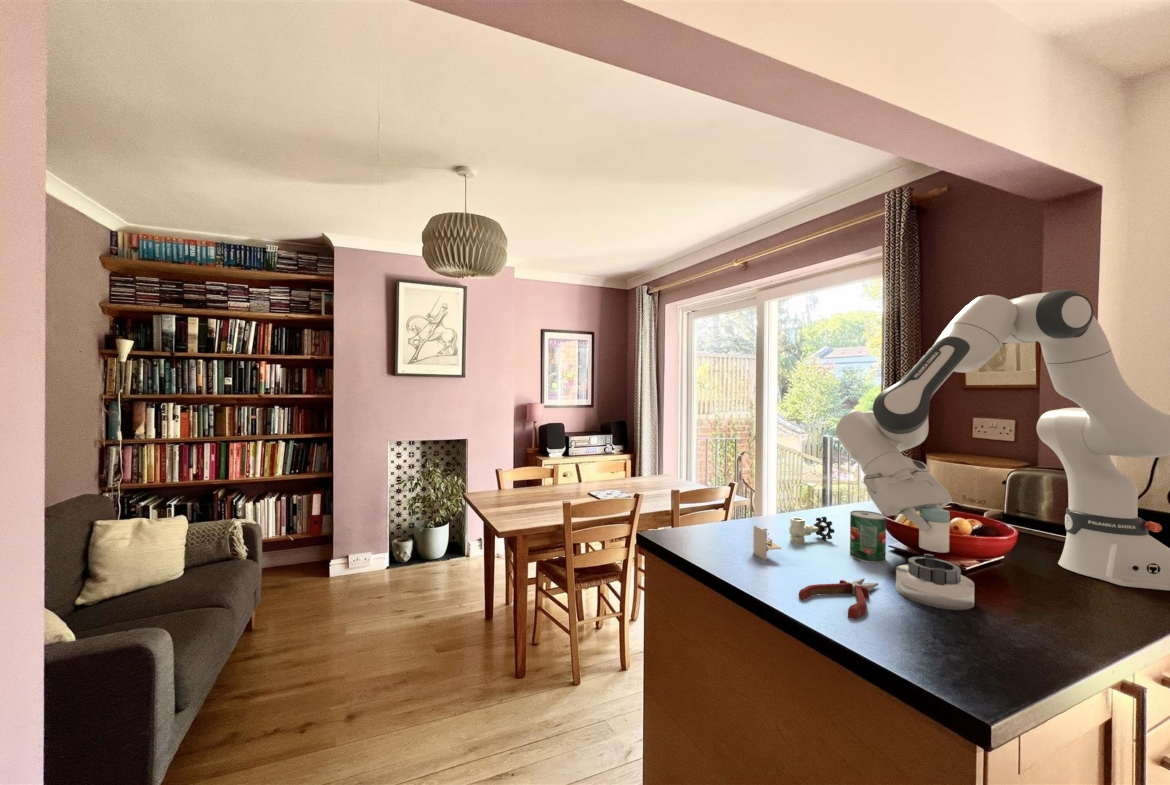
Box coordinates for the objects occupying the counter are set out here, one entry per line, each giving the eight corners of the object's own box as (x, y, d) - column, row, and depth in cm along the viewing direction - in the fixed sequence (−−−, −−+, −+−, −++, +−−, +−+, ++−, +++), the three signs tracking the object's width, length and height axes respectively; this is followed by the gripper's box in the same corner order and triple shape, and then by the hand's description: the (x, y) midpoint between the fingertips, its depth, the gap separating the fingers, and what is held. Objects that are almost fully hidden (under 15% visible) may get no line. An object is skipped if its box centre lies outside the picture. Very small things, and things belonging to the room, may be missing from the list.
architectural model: (764, 552, 122) (765, 524, 122) (781, 562, 115) (781, 532, 115) (752, 553, 121) (753, 525, 121) (768, 563, 115) (768, 533, 115)
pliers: (900, 596, 97) (900, 583, 97) (855, 624, 85) (855, 609, 85) (843, 578, 106) (843, 567, 106) (795, 601, 94) (795, 588, 94)
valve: (800, 547, 127) (834, 543, 130) (800, 522, 127) (834, 519, 130) (782, 539, 133) (816, 536, 137) (783, 516, 133) (816, 513, 137)
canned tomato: (893, 563, 115) (893, 518, 115) (860, 562, 115) (861, 518, 115) (873, 552, 123) (874, 510, 123) (843, 551, 123) (844, 510, 123)
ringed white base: (960, 585, 102) (960, 553, 102) (983, 615, 88) (983, 578, 88) (889, 574, 108) (890, 544, 108) (901, 601, 94) (901, 566, 94)
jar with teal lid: (945, 546, 98) (946, 508, 98) (951, 554, 93) (952, 514, 93) (916, 543, 100) (917, 505, 100) (921, 550, 95) (922, 511, 95)
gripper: (869, 466, 99) (917, 525, 90) (928, 462, 107) (978, 515, 98) (849, 483, 103) (893, 541, 94) (908, 478, 111) (953, 530, 102)
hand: (937, 528), depth 96 cm, fingers closed on jar with teal lid, 5 cm apart
